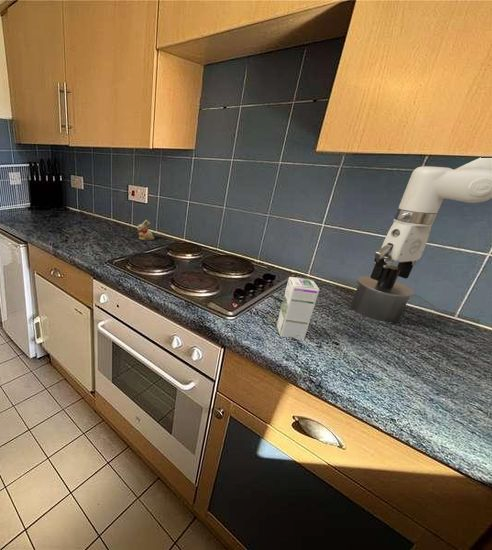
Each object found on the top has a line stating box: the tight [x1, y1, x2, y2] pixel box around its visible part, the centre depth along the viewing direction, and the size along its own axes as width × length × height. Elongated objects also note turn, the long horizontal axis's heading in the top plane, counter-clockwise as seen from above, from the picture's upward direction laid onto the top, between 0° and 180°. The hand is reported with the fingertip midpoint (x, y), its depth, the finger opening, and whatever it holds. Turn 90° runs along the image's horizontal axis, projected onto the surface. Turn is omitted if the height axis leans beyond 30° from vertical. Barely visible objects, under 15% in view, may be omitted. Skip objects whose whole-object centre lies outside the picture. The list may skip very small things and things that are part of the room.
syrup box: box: [276, 276, 320, 340], centre depth 74 cm, size 6×6×14 cm
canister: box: [349, 283, 410, 324], centre depth 87 cm, size 11×11×8 cm
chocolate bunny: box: [136, 219, 155, 241], centre depth 148 cm, size 6×8×10 cm
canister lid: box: [356, 264, 415, 298], centre depth 84 cm, size 13×13×7 cm
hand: (388, 278), depth 84 cm, fingers open, 9 cm apart
